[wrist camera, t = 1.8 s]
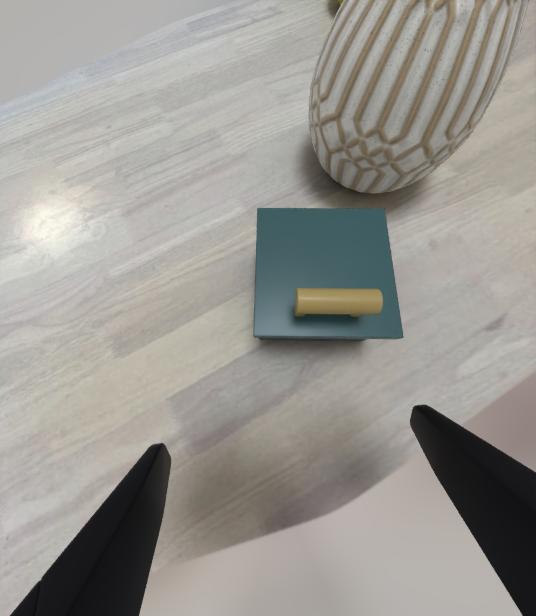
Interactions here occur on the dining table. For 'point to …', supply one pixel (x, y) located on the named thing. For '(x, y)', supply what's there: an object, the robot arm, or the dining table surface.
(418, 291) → the dining table surface
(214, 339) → the dining table surface
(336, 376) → the dining table surface
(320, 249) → the box lid
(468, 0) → the vase
